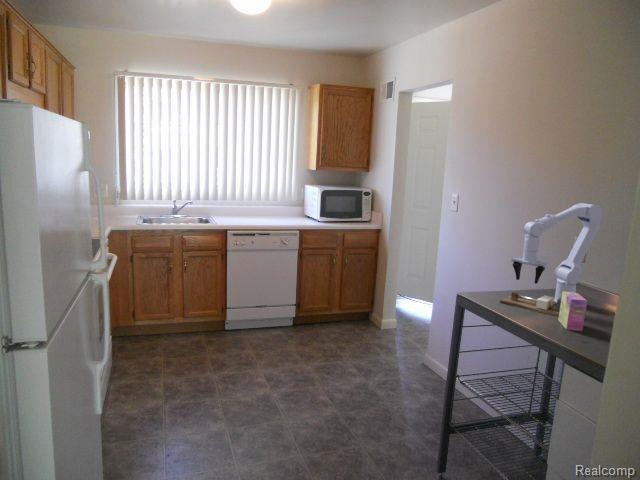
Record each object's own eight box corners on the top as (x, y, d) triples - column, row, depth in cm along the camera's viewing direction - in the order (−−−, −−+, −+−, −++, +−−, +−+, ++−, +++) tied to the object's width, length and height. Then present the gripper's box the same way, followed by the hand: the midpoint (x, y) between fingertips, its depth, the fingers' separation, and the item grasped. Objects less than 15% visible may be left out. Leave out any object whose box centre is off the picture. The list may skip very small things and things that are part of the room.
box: (583, 331, 172) (587, 300, 170) (566, 329, 173) (570, 298, 171) (574, 322, 182) (578, 292, 180) (558, 320, 183) (562, 291, 181)
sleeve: (542, 303, 201) (543, 295, 201) (552, 305, 199) (554, 297, 198) (535, 307, 195) (536, 299, 194) (546, 309, 192) (547, 301, 191)
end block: (559, 309, 195) (560, 297, 194) (566, 310, 193) (568, 299, 192) (556, 311, 192) (557, 299, 191) (564, 312, 190) (565, 300, 189)
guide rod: (515, 296, 205) (515, 294, 205) (562, 307, 193) (562, 304, 192) (514, 297, 204) (514, 294, 204) (561, 307, 192) (561, 305, 191)
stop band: (550, 306, 196) (551, 299, 196) (553, 306, 195) (554, 300, 195) (548, 307, 194) (549, 300, 194) (551, 308, 193) (552, 301, 193)
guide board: (509, 297, 212) (510, 288, 211) (573, 312, 195) (574, 301, 194) (499, 302, 204) (500, 292, 203) (565, 318, 186) (566, 307, 186)
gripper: (510, 248, 204) (506, 279, 206) (545, 254, 194) (541, 286, 197) (516, 246, 209) (512, 276, 211) (551, 252, 199) (546, 283, 202)
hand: (526, 281), depth 204 cm, fingers open, 7 cm apart
